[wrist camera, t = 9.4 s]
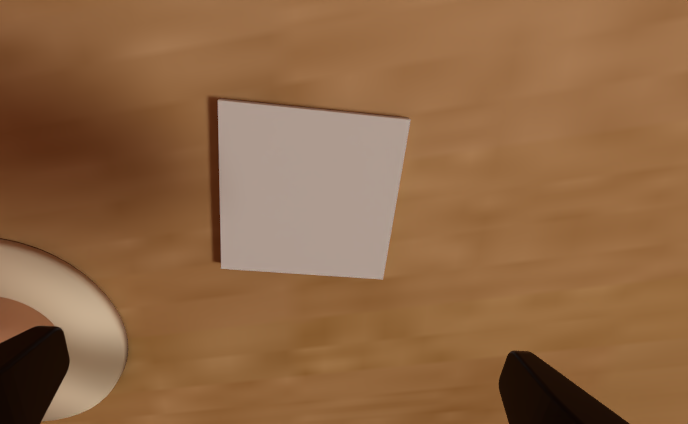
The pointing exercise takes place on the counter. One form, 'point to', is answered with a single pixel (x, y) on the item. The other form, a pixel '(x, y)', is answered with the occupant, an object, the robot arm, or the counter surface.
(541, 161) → the counter surface
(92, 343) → the coaster
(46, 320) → the spice jar
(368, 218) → the pad
